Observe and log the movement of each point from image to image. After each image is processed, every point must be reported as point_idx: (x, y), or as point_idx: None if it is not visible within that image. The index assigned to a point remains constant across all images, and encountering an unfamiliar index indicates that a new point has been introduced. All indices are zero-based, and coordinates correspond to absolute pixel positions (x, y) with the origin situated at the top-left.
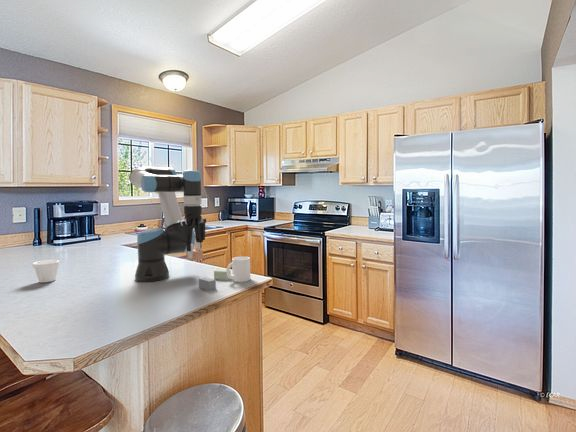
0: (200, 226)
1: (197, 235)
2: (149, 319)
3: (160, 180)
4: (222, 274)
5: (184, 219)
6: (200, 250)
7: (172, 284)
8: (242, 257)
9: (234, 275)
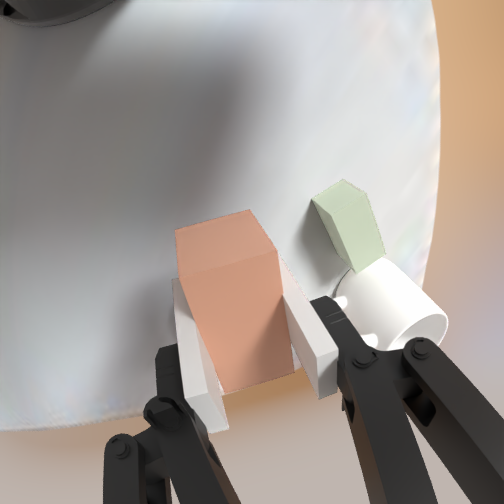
0: (500, 497)
1: (364, 455)
2: (14, 408)
3: None
4: (341, 246)
5: None
6: (279, 369)
7: (92, 145)
8: (442, 316)
9: (345, 311)
